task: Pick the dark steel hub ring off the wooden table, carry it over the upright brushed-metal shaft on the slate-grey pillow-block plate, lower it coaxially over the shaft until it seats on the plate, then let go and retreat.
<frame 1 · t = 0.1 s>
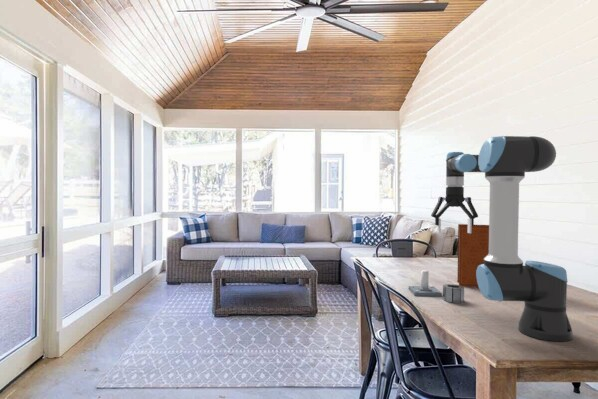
hand: (454, 233, 179), 28 cm above the table, fingers open, 13 cm apart
book: (482, 285, 196), on the table
shaft block: (424, 292, 181), on the table
hub: (453, 300, 168), on the table
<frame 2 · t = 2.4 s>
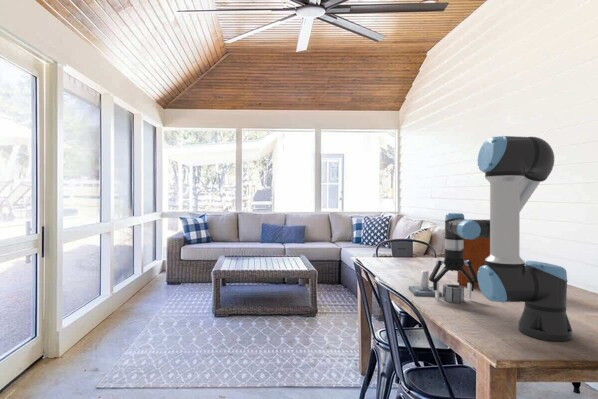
hand: (453, 298, 168), 1 cm above the table, fingers open, 13 cm apart
nothing on the table moved.
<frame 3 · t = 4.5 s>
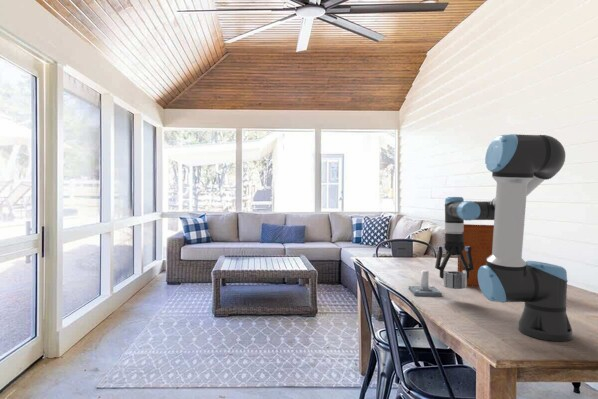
hand: (454, 286, 167), 6 cm above the table, fingers closed on hub, 8 cm apart
hub: (454, 286, 167), point 6 cm above the table, touching gripper
everything else where it was.
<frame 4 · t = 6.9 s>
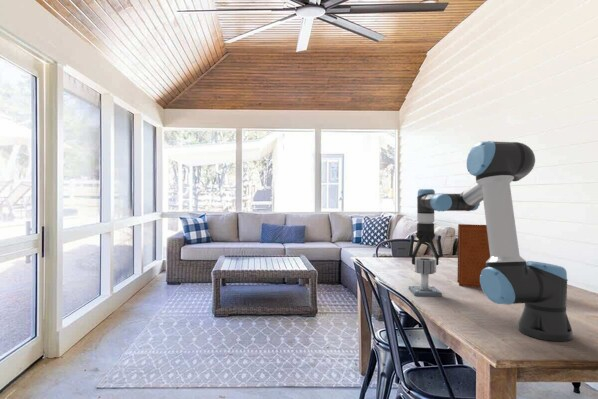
hand: (424, 271, 181), 10 cm above the table, fingers closed on hub, 8 cm apart
hub: (424, 272, 181), point 9 cm above the table, touching gripper
everything else where it was.
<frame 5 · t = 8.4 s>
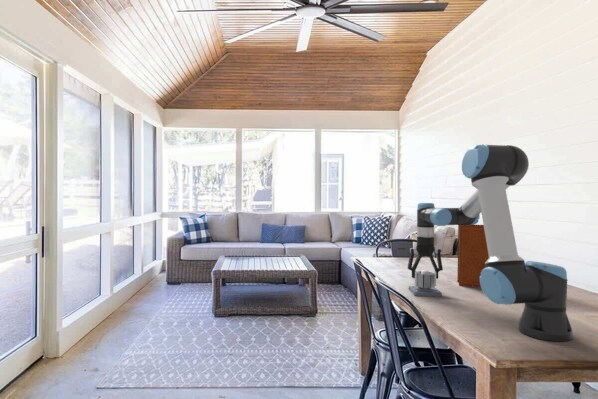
hand: (424, 285, 181), 3 cm above the table, fingers closed on hub, 8 cm apart
hub: (424, 285, 181), point 3 cm above the table, touching gripper
everything else where it was.
when the fingers open (3 cm above the table, at t = 9.5 s): hub stays where it is, resting on shaft block.
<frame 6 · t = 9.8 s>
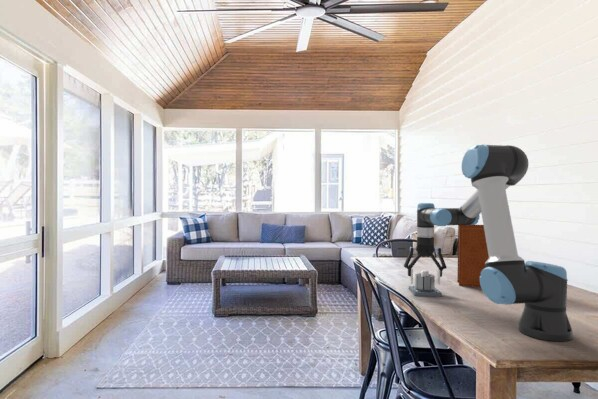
hand: (424, 283, 181), 4 cm above the table, fingers open, 11 cm apart
hub: (424, 288, 181), point 2 cm above the table, touching shaft block
everything else where it was.
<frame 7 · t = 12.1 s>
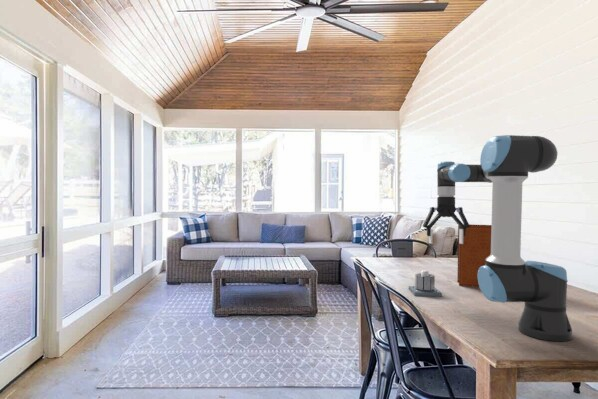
hand: (445, 243, 176), 23 cm above the table, fingers open, 13 cm apart
nothing on the table moved.
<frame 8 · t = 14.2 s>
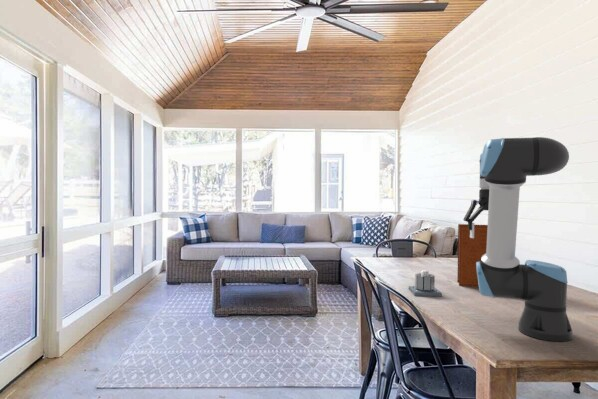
hand: (488, 238, 169), 27 cm above the table, fingers open, 13 cm apart
nothing on the table moved.
at the end: hub 0.0 cm off-centre on the shaft block, point 2.1 cm above the shaft block's base; the gripper is holding nothing; hub tilted 0° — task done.
